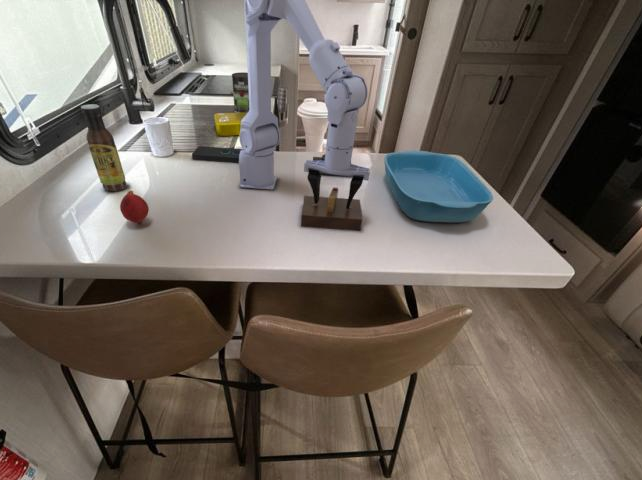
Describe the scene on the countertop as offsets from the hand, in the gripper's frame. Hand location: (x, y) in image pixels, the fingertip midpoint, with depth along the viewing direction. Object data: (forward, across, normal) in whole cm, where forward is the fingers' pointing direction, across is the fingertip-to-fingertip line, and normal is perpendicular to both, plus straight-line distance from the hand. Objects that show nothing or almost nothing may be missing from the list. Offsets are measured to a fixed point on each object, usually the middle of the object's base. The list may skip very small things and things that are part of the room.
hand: (332, 204), depth 79 cm
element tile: (+4, +49, -56) cm, 75 cm away
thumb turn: (+1, 0, 0) cm, 1 cm away
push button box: (+4, +5, -30) cm, 30 cm away
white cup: (+4, +61, -24) cm, 66 cm away
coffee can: (+4, +55, -82) cm, 99 cm away
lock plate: (+4, 0, 0) cm, 4 cm away
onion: (+4, +43, +17) cm, 46 cm away
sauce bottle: (+4, +60, +3) cm, 60 cm away
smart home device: (+4, +41, -28) cm, 50 cm away
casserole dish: (+4, -23, -19) cm, 30 cm away
